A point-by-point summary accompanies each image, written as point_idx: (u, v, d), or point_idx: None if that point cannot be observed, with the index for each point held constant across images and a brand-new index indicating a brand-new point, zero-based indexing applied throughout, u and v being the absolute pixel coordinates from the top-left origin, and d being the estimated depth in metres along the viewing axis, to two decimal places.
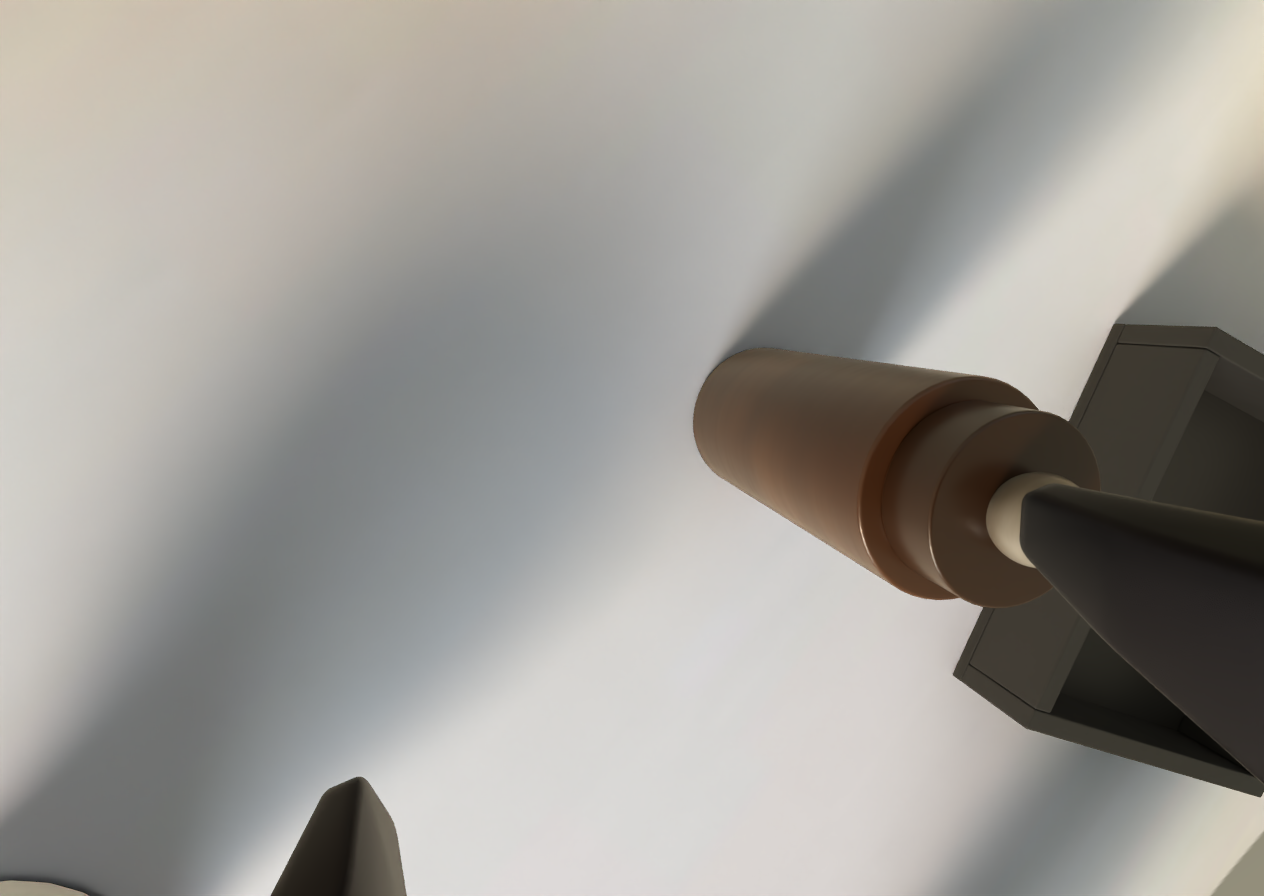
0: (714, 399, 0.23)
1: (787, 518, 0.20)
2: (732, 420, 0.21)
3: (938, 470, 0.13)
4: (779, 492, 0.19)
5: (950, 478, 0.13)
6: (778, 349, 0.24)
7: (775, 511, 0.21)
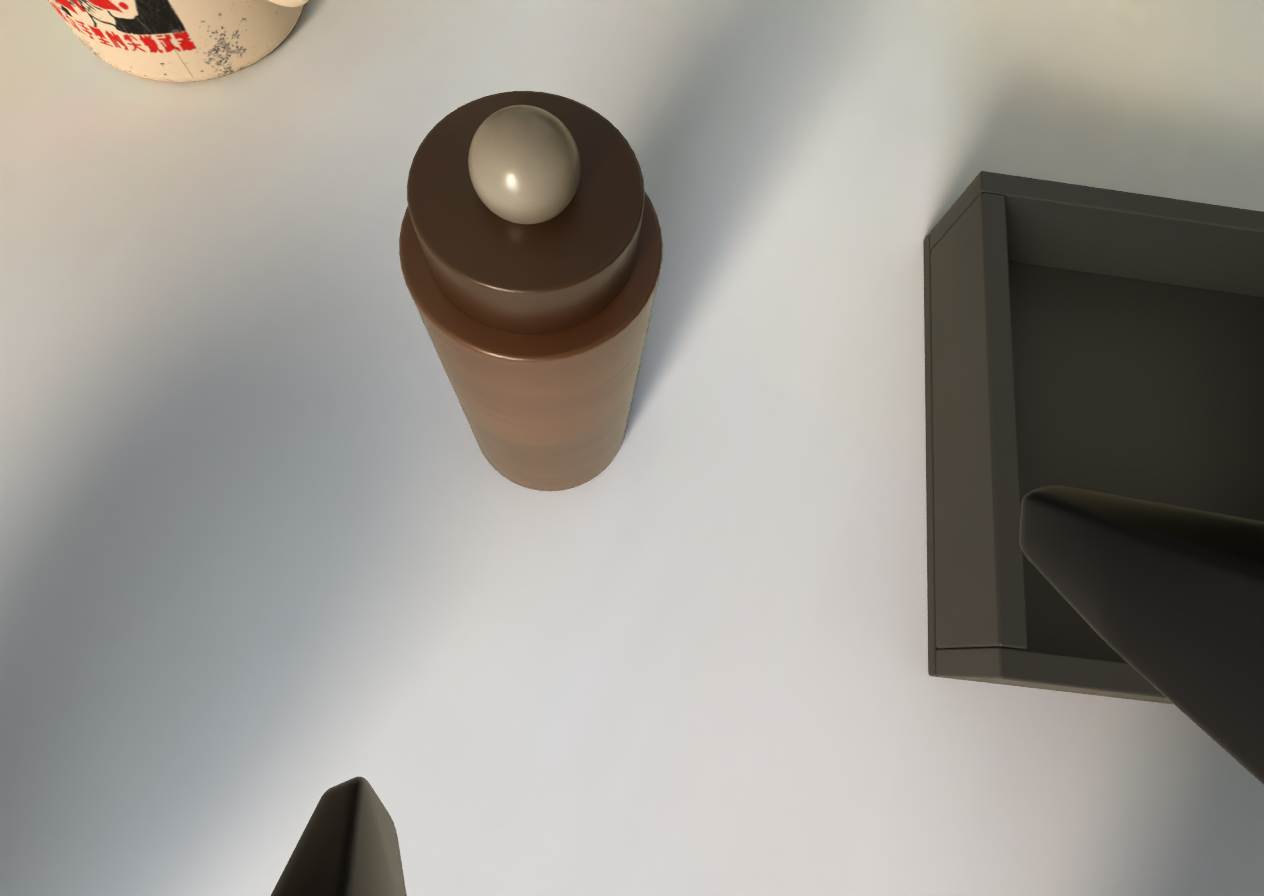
0: None
1: (499, 430, 0.18)
2: None
3: None
4: (454, 386, 0.17)
5: (421, 166, 0.12)
6: None
7: (506, 442, 0.18)
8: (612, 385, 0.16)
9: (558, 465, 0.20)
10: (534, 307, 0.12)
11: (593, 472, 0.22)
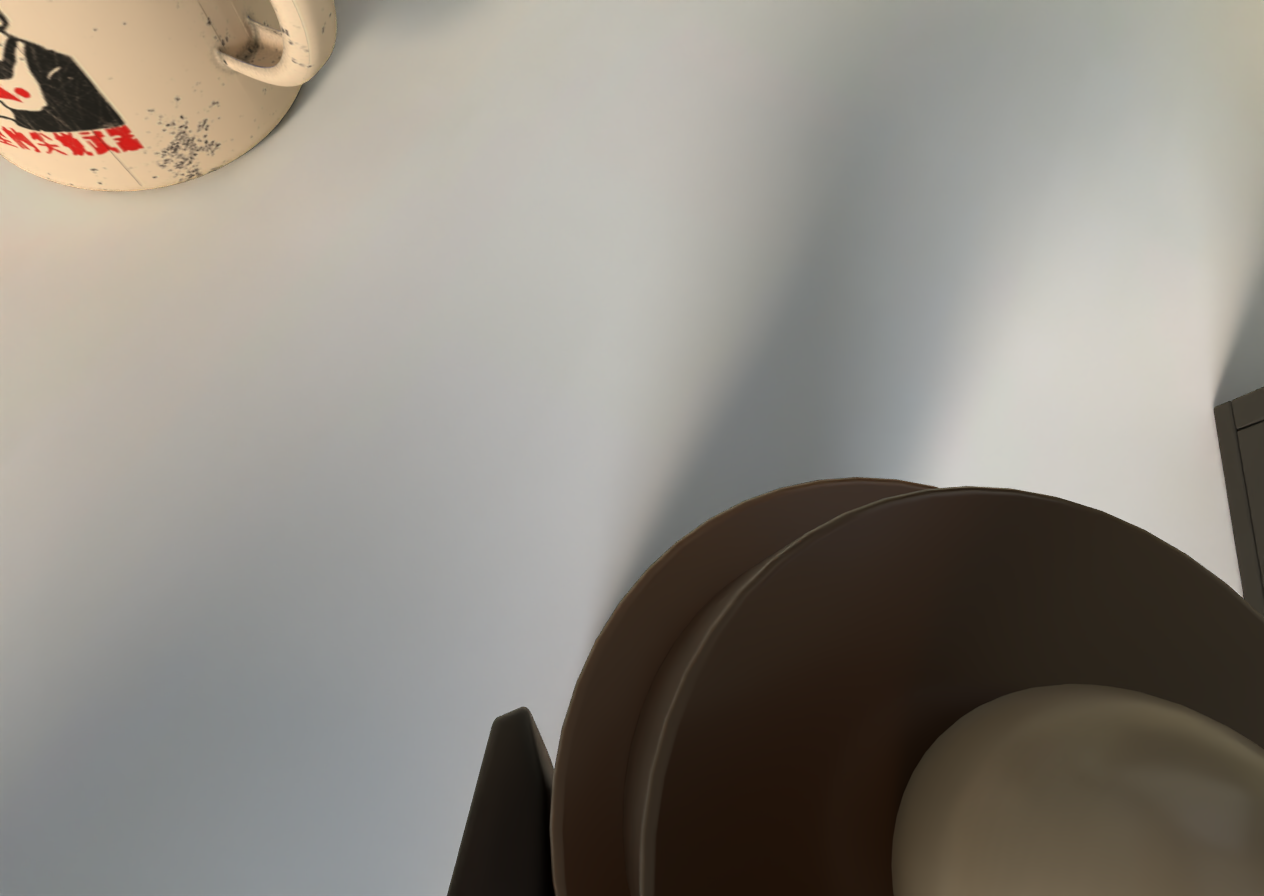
0: None
1: None
2: None
3: (645, 793, 0.04)
4: None
5: (684, 815, 0.04)
6: None
7: None
8: None
9: None
10: None
11: None
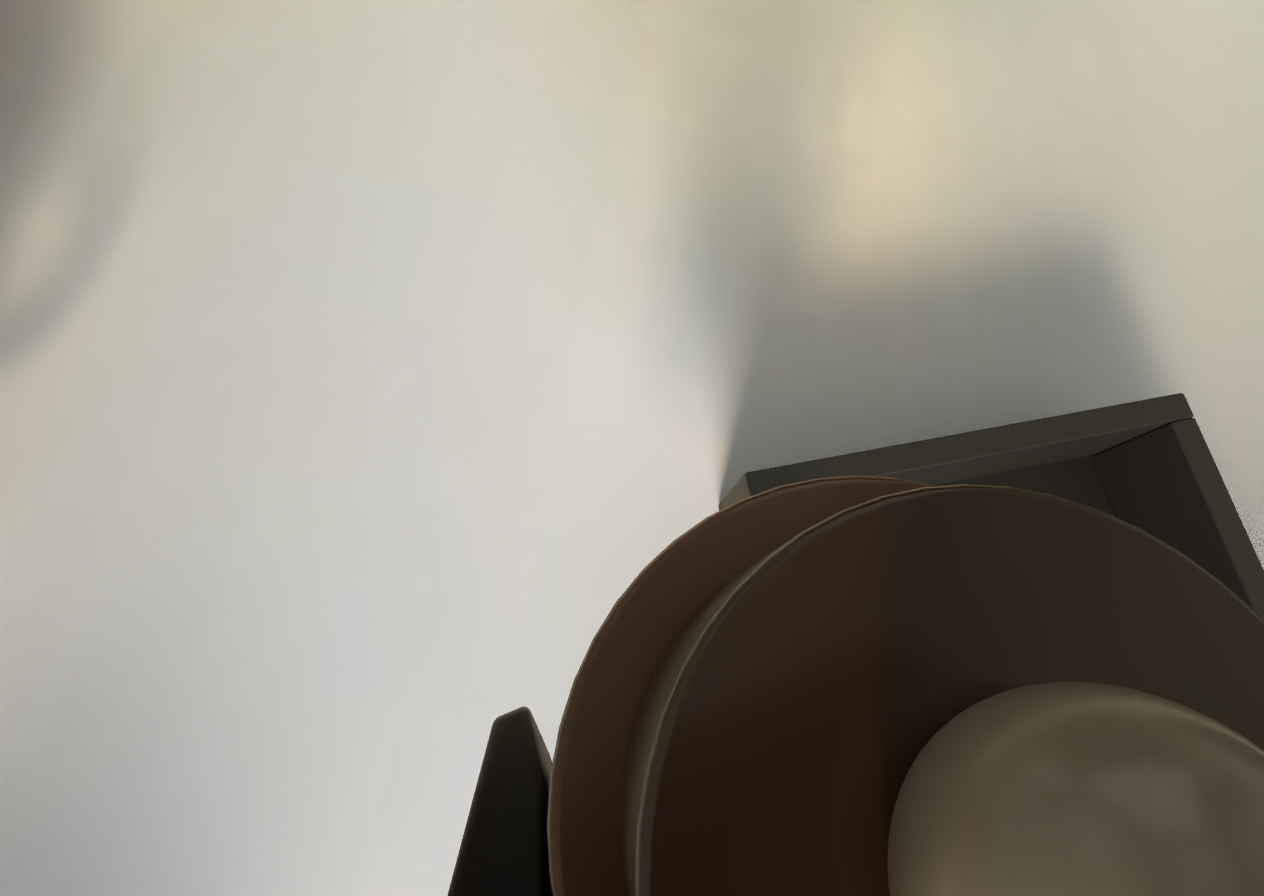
0: None
1: None
2: None
3: (642, 791, 0.04)
4: None
5: (680, 813, 0.04)
6: None
7: None
8: None
9: None
10: None
11: None
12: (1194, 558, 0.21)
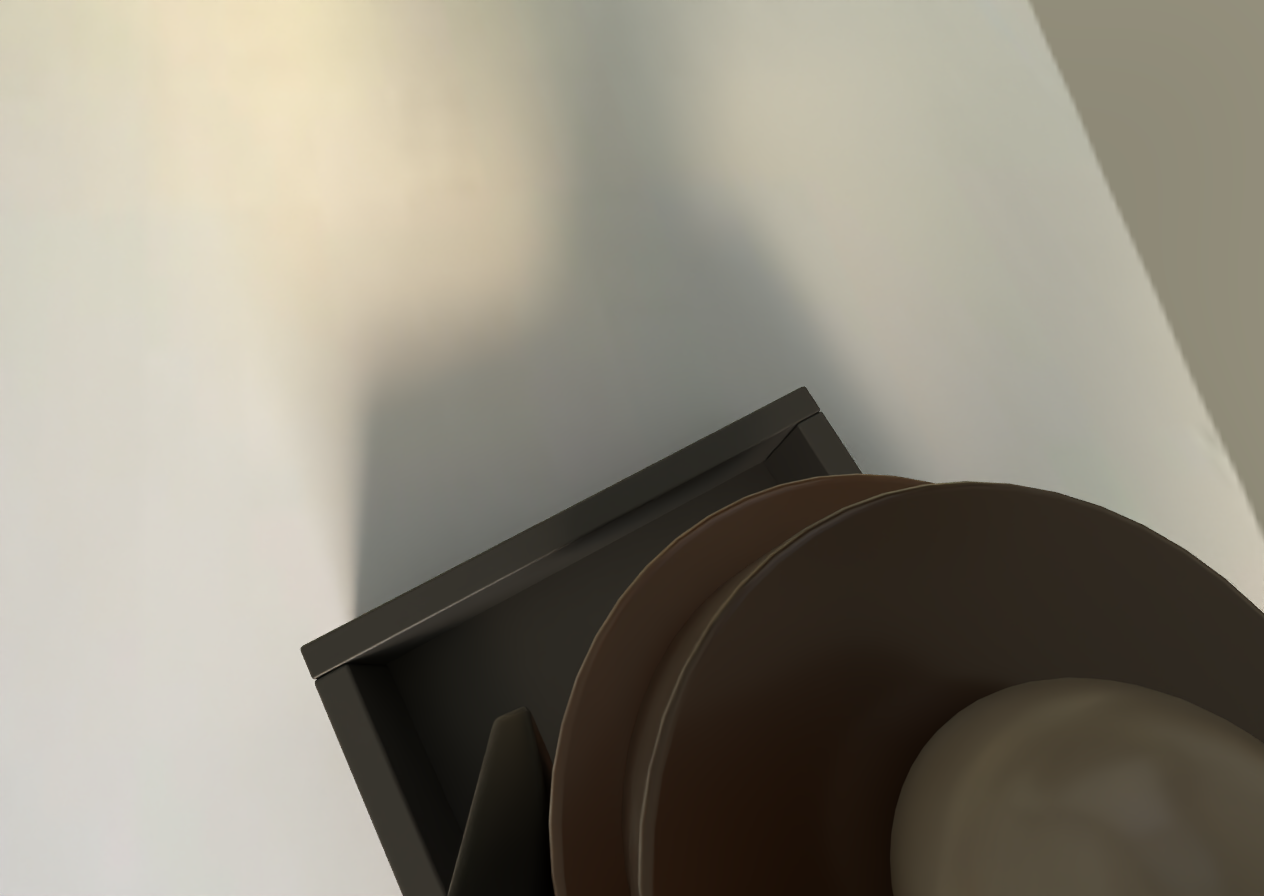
0: None
1: None
2: None
3: (644, 788, 0.04)
4: None
5: (682, 809, 0.04)
6: None
7: None
8: None
9: None
10: None
11: None
12: None
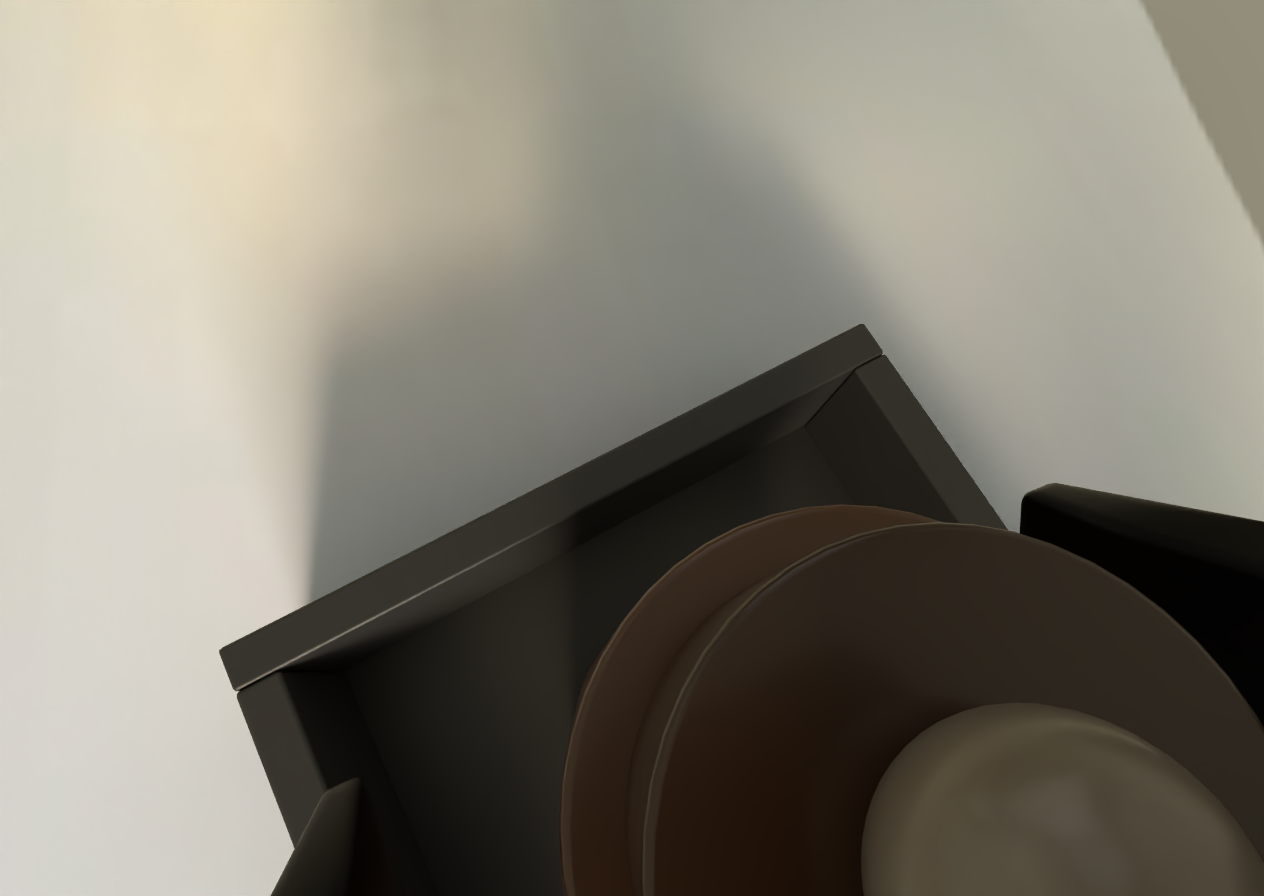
0: None
1: None
2: None
3: (646, 797, 0.04)
4: None
5: (680, 817, 0.04)
6: None
7: None
8: None
9: None
10: None
11: None
12: None
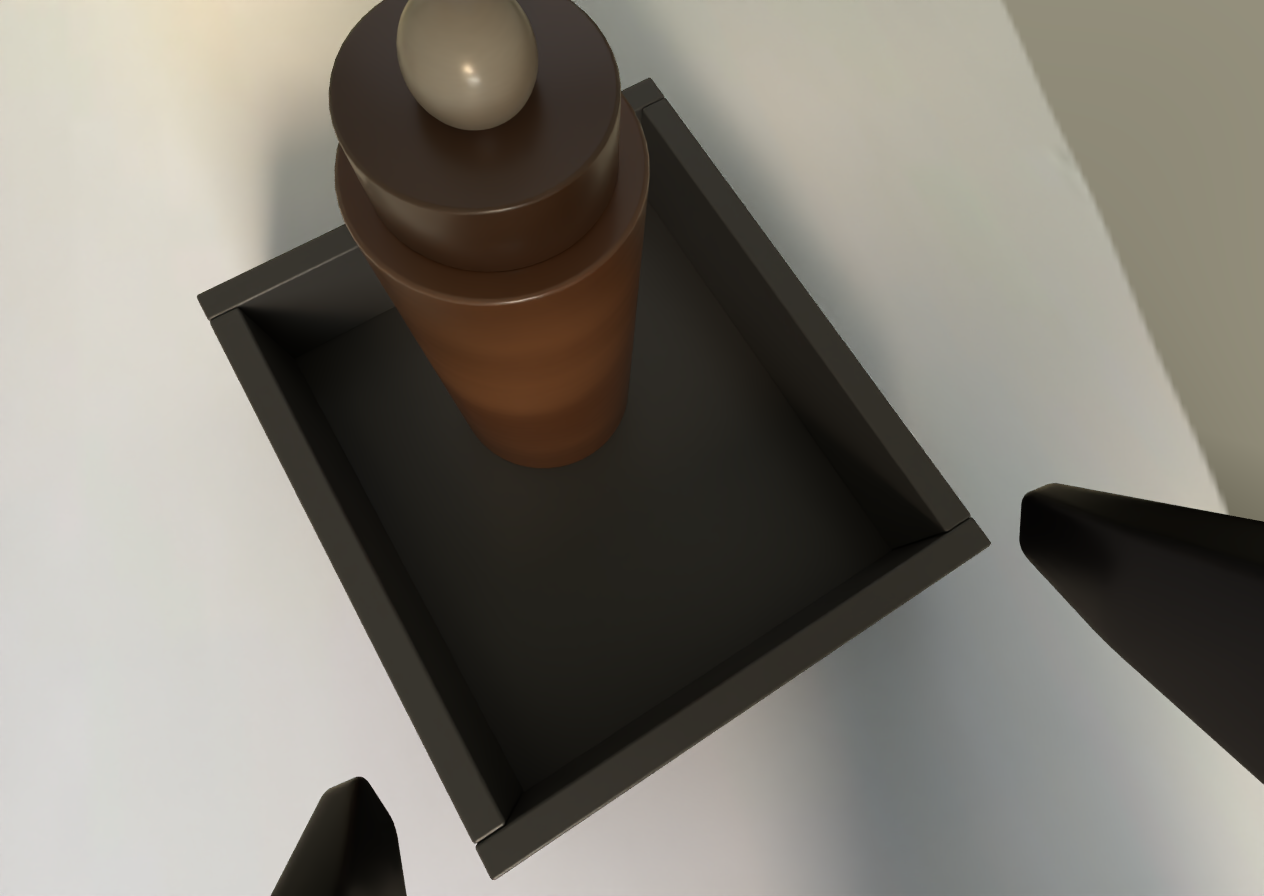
0: None
1: (479, 399, 0.15)
2: None
3: None
4: (423, 350, 0.15)
5: (344, 68, 0.10)
6: None
7: (490, 414, 0.16)
8: (602, 337, 0.14)
9: (552, 437, 0.18)
10: (493, 233, 0.10)
11: (594, 445, 0.20)
12: (710, 236, 0.20)
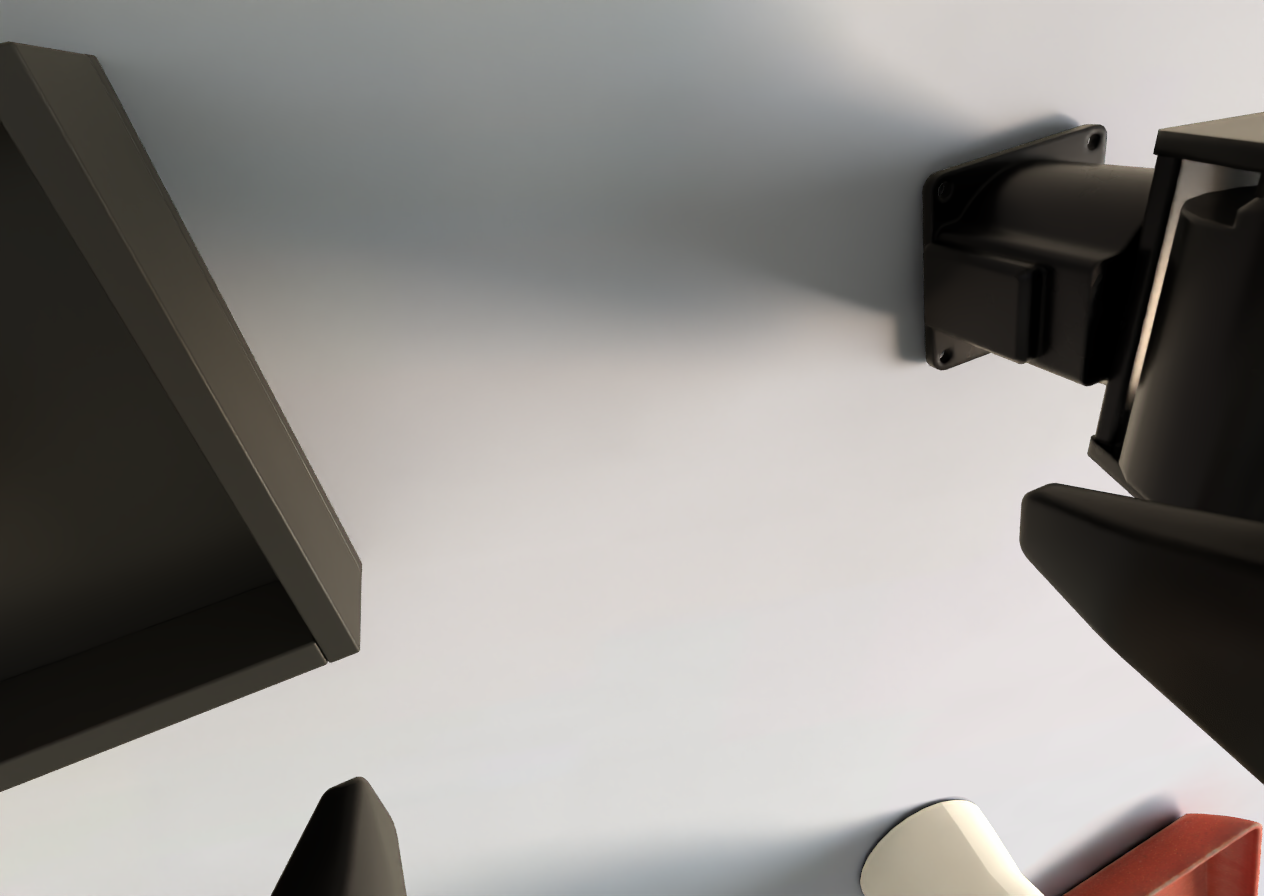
0: None
1: None
2: None
3: None
4: None
5: None
6: None
7: None
8: None
9: None
10: None
11: None
12: None
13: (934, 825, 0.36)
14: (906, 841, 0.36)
